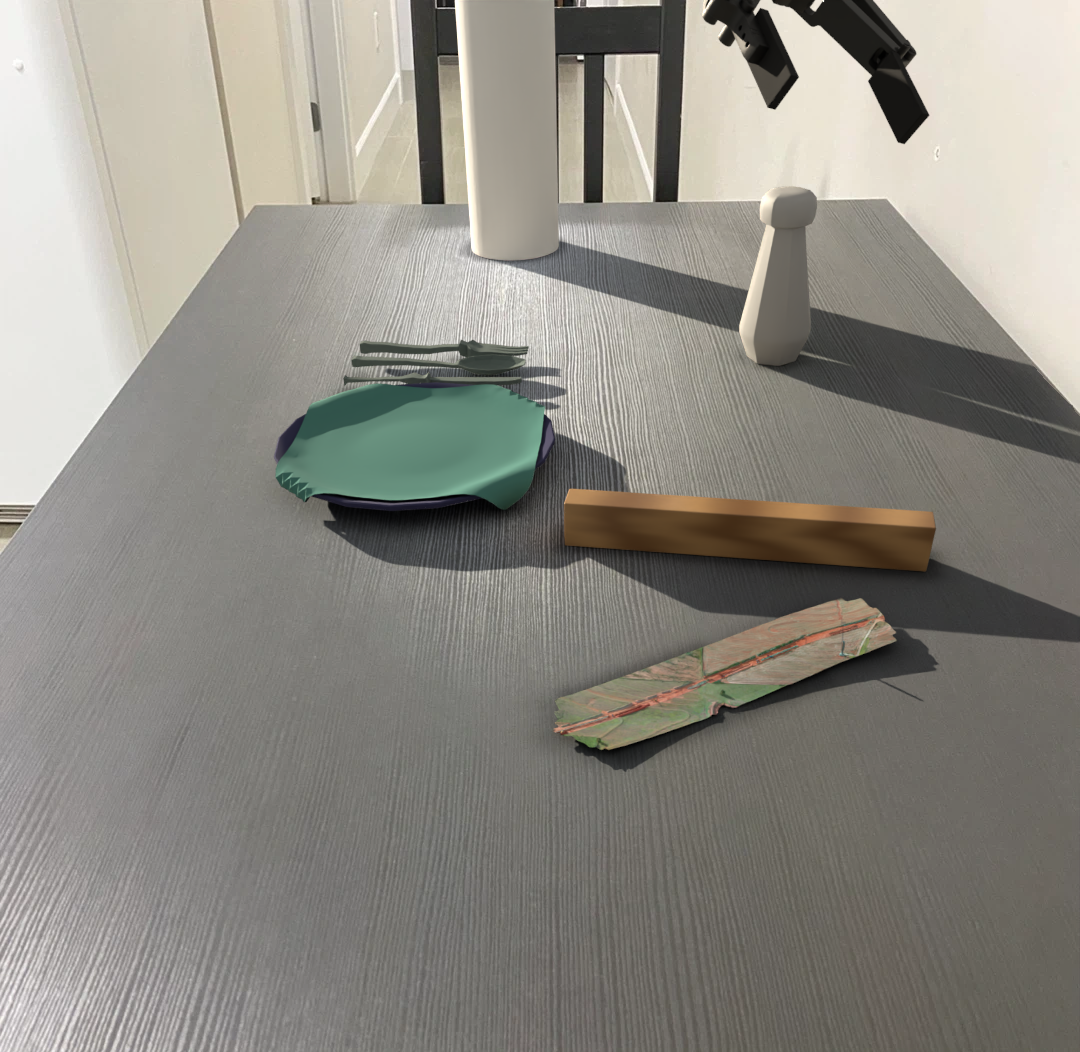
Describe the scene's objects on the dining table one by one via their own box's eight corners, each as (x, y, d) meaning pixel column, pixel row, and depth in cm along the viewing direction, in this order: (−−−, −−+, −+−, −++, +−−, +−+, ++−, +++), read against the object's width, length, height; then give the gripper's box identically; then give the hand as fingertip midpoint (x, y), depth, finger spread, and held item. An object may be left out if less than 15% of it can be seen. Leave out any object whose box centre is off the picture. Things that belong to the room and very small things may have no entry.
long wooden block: (923, 554, 67) (933, 511, 65) (926, 572, 65) (936, 528, 63) (569, 530, 70) (569, 488, 68) (564, 545, 69) (563, 503, 67)
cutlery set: (244, 530, 71) (236, 499, 70) (342, 356, 94) (338, 329, 93) (546, 534, 70) (545, 502, 68) (571, 356, 93) (570, 329, 91)
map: (533, 717, 56) (532, 703, 56) (848, 592, 63) (850, 578, 62) (581, 775, 53) (580, 760, 52) (909, 636, 59) (912, 622, 59)
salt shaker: (730, 345, 94) (743, 182, 85) (795, 341, 94) (815, 177, 86) (747, 372, 89) (763, 201, 81) (815, 367, 90) (838, 197, 81)
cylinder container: (481, 264, 113) (458, -97, 94) (464, 238, 120) (440, -101, 101) (568, 254, 115) (563, -102, 95) (547, 230, 122) (538, -107, 102)
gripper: (837, -4, 96) (927, 179, 90) (604, -86, 84) (691, 121, 77) (896, -88, 90) (998, 102, 84) (656, -191, 78) (754, 25, 71)
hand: (851, 112), depth 81 cm, fingers open, 13 cm apart
